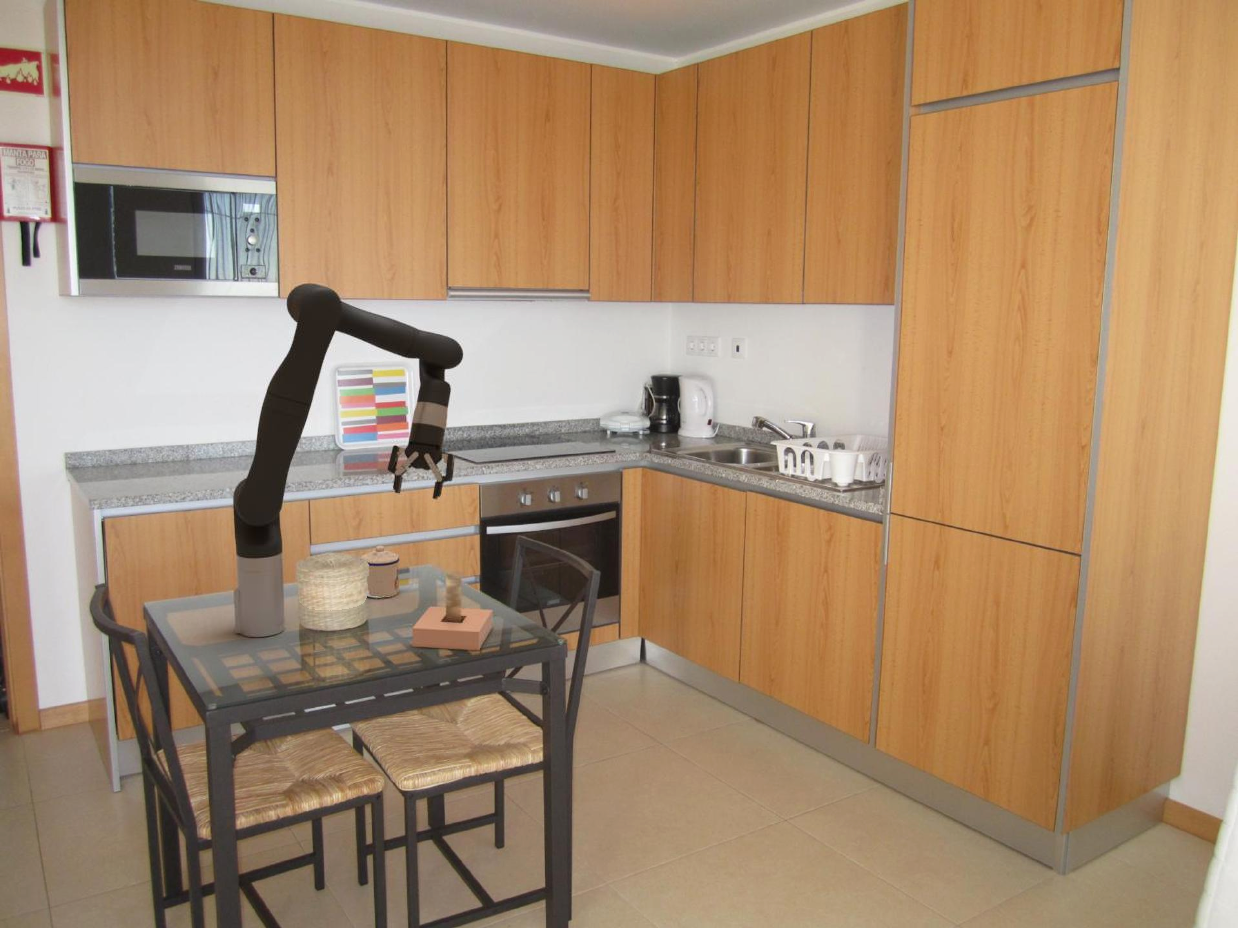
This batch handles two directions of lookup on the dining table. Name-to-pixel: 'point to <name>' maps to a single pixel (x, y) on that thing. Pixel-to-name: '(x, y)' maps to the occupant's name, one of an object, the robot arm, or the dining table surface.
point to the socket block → (452, 629)
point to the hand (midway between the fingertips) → (416, 496)
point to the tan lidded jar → (382, 572)
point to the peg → (453, 597)
